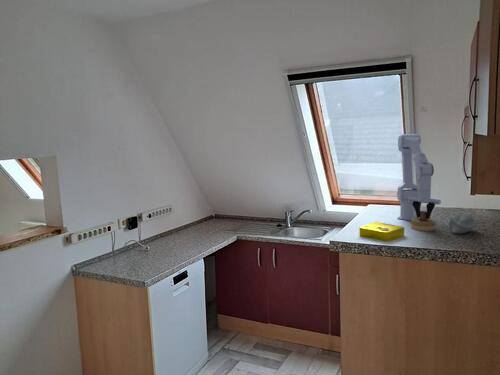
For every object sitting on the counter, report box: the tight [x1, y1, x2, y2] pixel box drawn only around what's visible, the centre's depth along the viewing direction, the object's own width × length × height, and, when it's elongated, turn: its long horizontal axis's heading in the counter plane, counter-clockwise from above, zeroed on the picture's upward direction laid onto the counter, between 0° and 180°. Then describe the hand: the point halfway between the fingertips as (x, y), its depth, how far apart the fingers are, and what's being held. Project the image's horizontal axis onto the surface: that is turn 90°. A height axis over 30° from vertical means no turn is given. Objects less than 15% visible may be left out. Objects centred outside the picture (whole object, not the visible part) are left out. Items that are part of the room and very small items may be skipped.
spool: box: [448, 213, 475, 235], centre depth 186 cm, size 14×10×10 cm
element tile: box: [358, 221, 405, 242], centre depth 184 cm, size 15×15×5 cm
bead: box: [410, 217, 436, 232], centre depth 195 cm, size 10×10×4 cm
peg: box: [419, 210, 427, 221], centre depth 195 cm, size 3×3×8 cm
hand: (423, 217), depth 195 cm, fingers open, 4 cm apart
